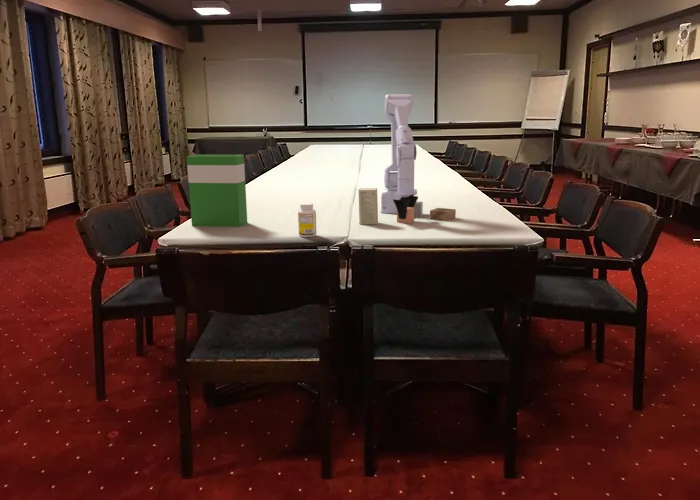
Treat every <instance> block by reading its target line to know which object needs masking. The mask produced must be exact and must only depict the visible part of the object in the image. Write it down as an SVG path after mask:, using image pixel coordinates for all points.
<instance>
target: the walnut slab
mask: <svg viewBox="0 0 700 500" xmlns="http://www.w3.org/2000/svg"><path fill="white" fill-rule="evenodd" d="M456 212H457V210H456V208H444V207H435V208H433V209H430V210H429V220H432V221H443V222H449V221H452V220H454V219H456V216H457V215H456V214H457V213H456Z"/></svg>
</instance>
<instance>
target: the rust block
mask: <svg viewBox="0 0 700 500" xmlns="http://www.w3.org/2000/svg"><path fill="white" fill-rule="evenodd" d="M414 221H415V217H414V207H407V213H406V218H405V219H399V215H398V211H397V214H396V223H400V224H401V223H402V224H410V223H413V222H414Z"/></svg>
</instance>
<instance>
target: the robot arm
mask: <svg viewBox="0 0 700 500" xmlns="http://www.w3.org/2000/svg"><path fill="white" fill-rule="evenodd" d="M413 101H414V100H413V95H412V94H411V93H409V94H407V93H406V94H405V93H404V94H403V93H401V94H398V93H397V94H389V93H386V95H385V96H384V116H385V118H387V119H388V120H389V122H390V123H389V124H390V127H391V128H390V131H391V132H390V133H391V139H390V140H391V163H390V164H389V165H388V166H386V168H385V169H384V177H383V181H384V182H383V183H384V189H383V190H382V192H381V196H380V197H381V198H380V199H381V204H380V205H381V210H380V213H381V214H382V213H383V214H394V215H397V211H398V215H399V219H405V218H406V213H407V207H414V206H415V203H416V202H418V199H419V196H418V189H415V161H416V160H417V153H418V151H417V146H416V145H417V144H416V143H415V141H414V137H413V132H412V129H411V127H410V126H409V122H408V120H409V118H410V116H411V113H412V110H413V107H414V106H413V103H414V102H413Z"/></svg>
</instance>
